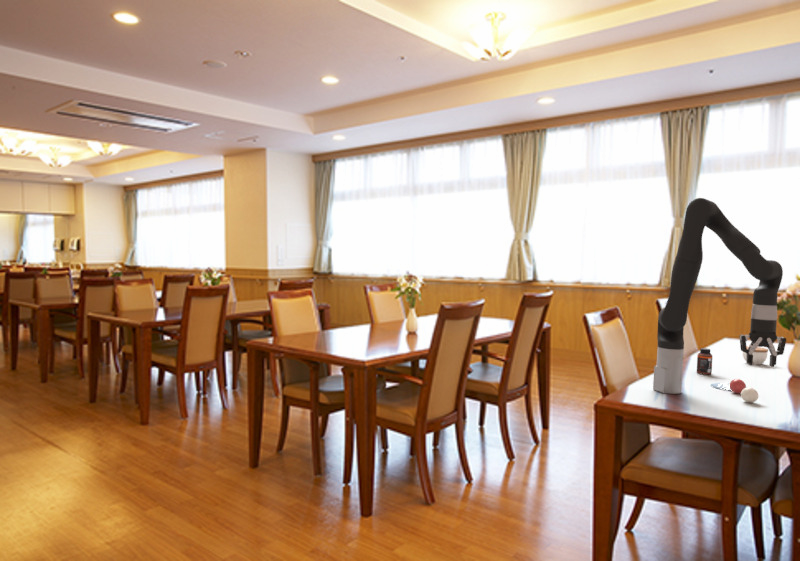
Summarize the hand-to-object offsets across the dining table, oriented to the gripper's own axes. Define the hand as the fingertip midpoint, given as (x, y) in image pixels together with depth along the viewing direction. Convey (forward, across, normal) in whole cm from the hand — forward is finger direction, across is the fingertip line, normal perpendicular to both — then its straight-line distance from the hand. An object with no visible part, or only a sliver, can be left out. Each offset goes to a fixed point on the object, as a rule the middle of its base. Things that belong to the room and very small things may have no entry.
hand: (760, 365), depth 194 cm
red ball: (+13, 0, -23) cm, 27 cm away
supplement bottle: (+16, +4, -58) cm, 60 cm away
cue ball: (+13, 0, -9) cm, 16 cm away
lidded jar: (+16, -27, -94) cm, 100 cm away
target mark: (+16, 0, -32) cm, 36 cm away
